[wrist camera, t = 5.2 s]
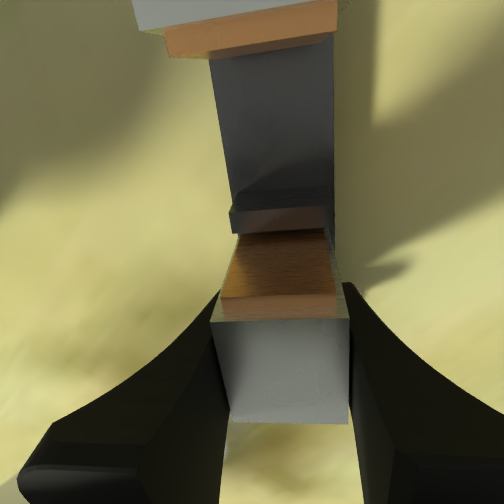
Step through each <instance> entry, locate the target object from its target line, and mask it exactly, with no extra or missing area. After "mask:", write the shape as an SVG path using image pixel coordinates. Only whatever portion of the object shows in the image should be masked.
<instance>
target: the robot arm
mask: <svg viewBox="0 0 504 504" xmlns="http://www.w3.org/2000/svg"><path fill="white" fill-rule="evenodd" d="M342 288H343V292H344V296H345V301H346V305H347V309H348V313H349V318H350V326H349V407H350V411H351V416H352V421H353V426H354V433H355V440H356V447H357V454H358V461H359V469H360V476H361V483H362V491H363V498H364V504H504V414H502V413H500V412H498V411H496V410H495V409H493V408H491V407H490V406H488V405H486V404H485V403H483V402H482V401H480V400H478V399H477V398H475V397H474V396H472V395H471V394H469V393H467V392H466V391H464V390H463V389H461V388H460V387H458V386H457V385H456V384H454V383H453V382H452V381H450V380H449V379H447V378H446V377H445V376H443V375H442V374H440V373H439V372H438V371H436V370H435V369H434V368H432V367H431V366H430V365H429V364H427V363H426V362H425V361H424V360H422V359H421V358H420V357H419V356H418V355H417V354H415V353H414V352H413V351H412V350H411V349H410V348H409V347H407V346H406V345H405V344H404V343H403V342H402V341H401V340H400V339H399V338H398V337H397V336H396V335H395V334H394V333H393V332H392V331H391V330H390V329H389V328H388V327H387V326H386V325H385V324H384V322H383V321H382V320H381V319H380V318H379V317H378V316H377V314H376V313H375V312H374V311H373V310H372V309H371V307H370V306H369V305H368V304H367V302H366V301H365V300H364V299H363V297H362V296H361V295H360V293H359V292H358V290H357V289H356V287H355V286H354V285H353V284H352V283H351V282H346V283H342ZM220 290H221V289H220ZM220 290H219V291H218V292H217V294H216V295H215V296H214V297H213V298H212V300H211V301H210V302H209V303H208V304H207V306H206V307H205V308H204V309H203V310H202V311H201V313H200V314H199V315H198V316H197V317H196V318H195V319H194V321H193V322H192V323H191V324H190V325H189V326H188V327H187V328H186V329H185V330H184V331H183V332H182V333H181V334H180V335H179V336H178V337H177V338H176V339H175V341H173V342H172V343H171V344H170V345H169V346H168V347H167V348H166V349H165V350H164V351H163V352H161V353H160V354H159V355H158V356H157V357H155V358H154V359H153V360H152V361H151V362H149V363H148V364H147V365H145V366H144V367H143V368H141V369H140V370H139V371H137V372H136V373H135V374H133V375H132V376H131V377H129V378H128V379H127V380H125V381H124V382H122V383H121V384H119V385H118V386H116V387H115V388H113V389H112V390H110V391H108V392H107V393H105V394H104V395H102V396H100V397H99V398H97V399H96V400H94V401H92V402H90V403H89V404H87V405H85V406H83V407H81V408H80V409H78V410H76V411H74V412H72V413H70V414H69V415H67V416H65V417H63V418H61V419H59V420H57V421H55V422H54V423H52V425H51V426H50V427H49V429H48V430H47V432H46V433H45V435H44V436H43V438H42V439H41V441H40V442H39V444H38V445H37V447H36V448H35V450H34V451H33V453H32V454H31V456H30V457H29V459H28V460H27V462H26V463H25V465H24V466H23V468H22V469H21V470H20V472H19V474H18V477H17V483H18V488H19V491H20V492H21V494H22V495H23V496H24V498H25V499H26V500H27V501H28V502H29V503H30V504H219V495H220V485H221V476H222V467H223V458H224V449H225V441H226V433H227V425H228V419H229V414H230V406H229V402H228V398H227V394H226V389H225V385H224V381H223V377H222V372H221V368H220V364H219V360H218V355H217V351H216V347H215V343H214V338H213V334H212V330H211V326H210V319H211V317H212V314H213V311H214V308H215V305H216V302H217V299H218V296H219V293H220Z"/></svg>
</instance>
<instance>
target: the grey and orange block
mask: <svg viewBox="0 0 504 504" xmlns="http://www.w3.org/2000/svg"><path fill="white" fill-rule="evenodd" d="M210 326H211V330H212V334H213V338H214V343H215V347H216V351H217V355H218V360H219V364H220V368H221V372H222V377H223V381H224V385H225V389H226V394H227V398H228V402H229V406H230V411H231V415H232V419H233V422H261V423H307V424H348V403H349V326H350V318H349V313H348V309H347V305H346V301H345V296H344V292H343V288H342V283H341V279H340V275H339V270H338V266H337V262H336V258H335V253H334V249H333V245H332V240H331V236H330V232H329V227H321V228H307V229H292V230H278V231H264V232H249V233H240V234H239V237H238V240H237V243H236V246H235V249H234V252H233V255H232V258H231V261H230V264H229V267H228V270H227V273H226V275H225V278H224V281H223V284H222V287H221V290H220V293H219V296H218V299H217V302H216V305H215V308H214V311H213V314H212V317H211V319H210Z"/></svg>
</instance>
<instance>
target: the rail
mask: <svg viewBox="0 0 504 504" xmlns="http://www.w3.org/2000/svg"><path fill="white" fill-rule="evenodd" d="M131 1H132V5H133V9H134V13H135V17H136V21H137V25H138V29H139V31H140V32H145V33H150V34H155V35H159V36H164V37H165V40H166V45H167V49H168V54H169V57H173V58H193V59H209V65H210V71H211V77H212V83H213V89H214V95H215V101H216V107H217V113H218V119H219V125H220V131H221V137H222V143H223V149H224V155H225V161H226V167H227V173H228V179H229V185H230V191H231V197H232V203H233V204H232V206H231V209H230V211H229V218H230V223H231V229H232V234H235V233H238V237H239V234H240V233H249V232H264V231H278V230H292V229H307V228H321V227H329V232H330V236H331V240H332V245H333V249H334V253H335V211H334V88H333V33H334V32H336V31H337V15H338V14H339V13H340V12H341V11H342V10H343V9H344V8H345V6H346V5H347V4H348V3H349V2H350V1H351V0H131Z"/></svg>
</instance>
